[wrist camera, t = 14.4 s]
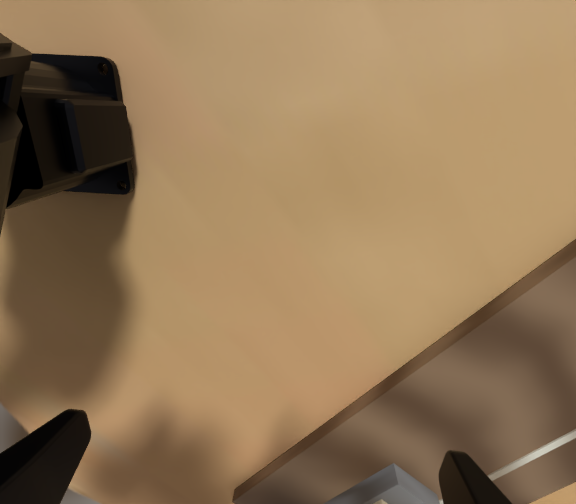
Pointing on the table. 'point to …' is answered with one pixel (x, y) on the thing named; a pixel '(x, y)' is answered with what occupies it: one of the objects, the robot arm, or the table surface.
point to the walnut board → (458, 405)
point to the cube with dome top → (387, 490)
